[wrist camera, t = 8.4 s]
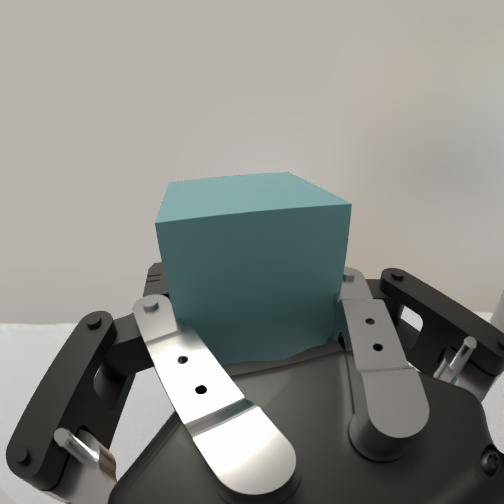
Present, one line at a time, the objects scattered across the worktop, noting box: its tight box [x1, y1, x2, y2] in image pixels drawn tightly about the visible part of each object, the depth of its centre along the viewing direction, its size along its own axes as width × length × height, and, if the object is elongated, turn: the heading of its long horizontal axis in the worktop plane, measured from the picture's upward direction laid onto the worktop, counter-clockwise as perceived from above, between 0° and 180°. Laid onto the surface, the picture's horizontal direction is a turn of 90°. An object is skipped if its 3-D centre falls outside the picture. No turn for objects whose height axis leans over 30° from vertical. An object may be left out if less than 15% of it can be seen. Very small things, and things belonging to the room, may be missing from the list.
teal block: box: [155, 172, 351, 365], centre depth 11 cm, size 5×5×10 cm
